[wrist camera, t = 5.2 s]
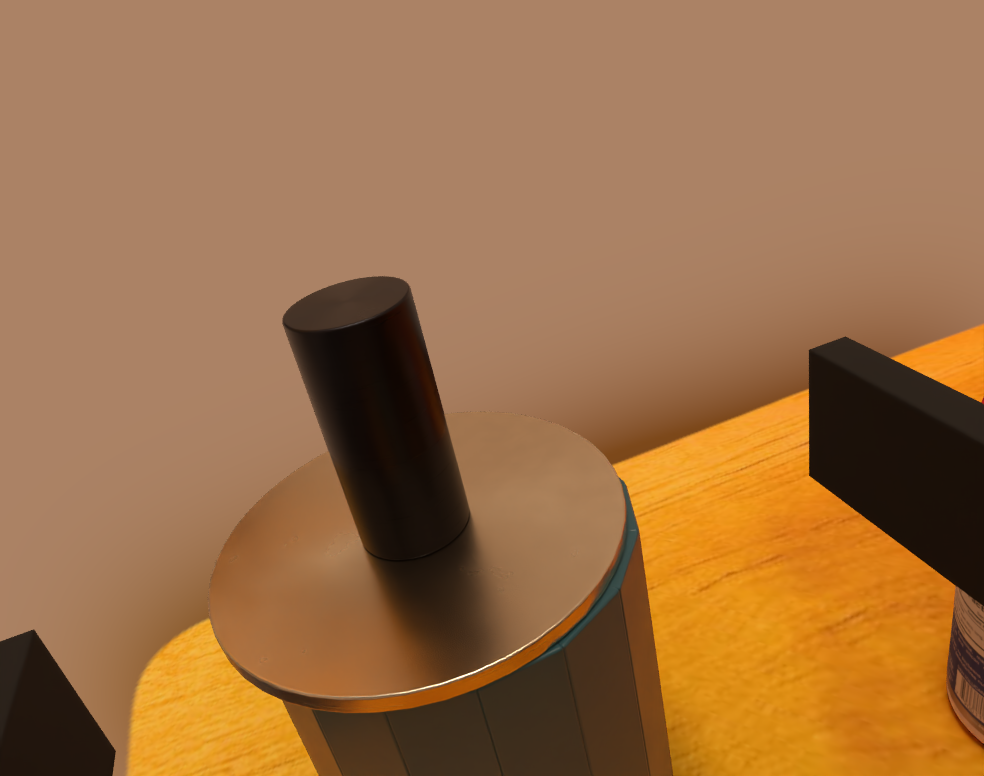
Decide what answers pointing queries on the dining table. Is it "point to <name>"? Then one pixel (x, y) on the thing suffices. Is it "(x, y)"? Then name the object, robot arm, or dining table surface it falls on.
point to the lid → (409, 528)
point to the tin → (527, 707)
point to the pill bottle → (967, 663)
